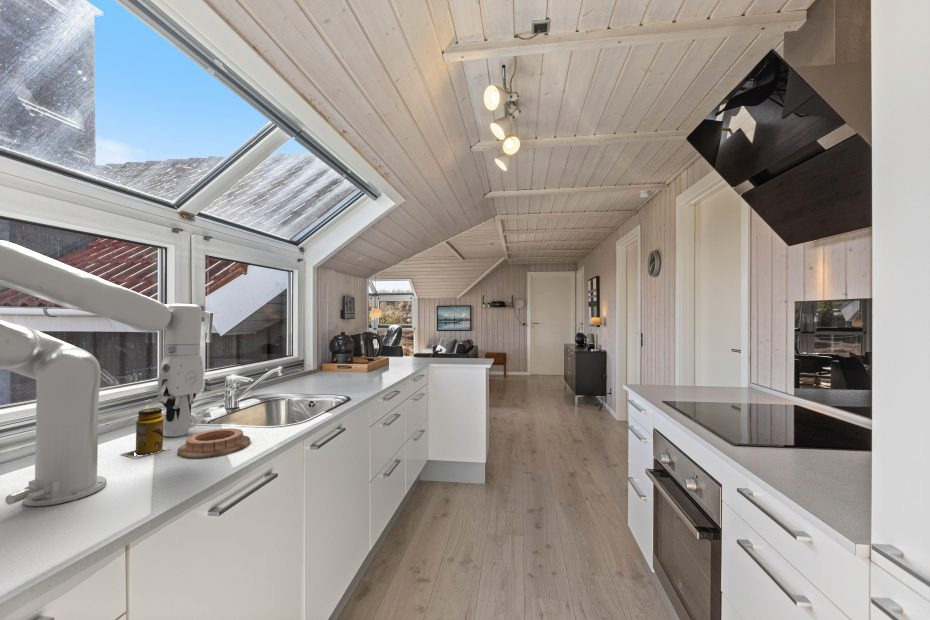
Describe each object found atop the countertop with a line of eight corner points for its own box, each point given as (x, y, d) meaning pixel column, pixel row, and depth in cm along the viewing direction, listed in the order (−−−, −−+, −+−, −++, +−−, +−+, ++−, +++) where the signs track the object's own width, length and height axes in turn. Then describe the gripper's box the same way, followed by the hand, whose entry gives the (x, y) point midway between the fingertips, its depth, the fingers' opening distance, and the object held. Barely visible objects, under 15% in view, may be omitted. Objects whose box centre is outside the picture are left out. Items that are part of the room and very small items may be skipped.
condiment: (169, 449, 111) (170, 408, 111) (135, 459, 103) (136, 415, 104) (155, 445, 114) (155, 405, 114) (120, 455, 106) (121, 412, 106)
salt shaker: (178, 438, 95) (182, 385, 96) (156, 437, 95) (160, 385, 96) (196, 431, 101) (199, 382, 102) (175, 430, 101) (178, 381, 102)
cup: (204, 430, 129) (204, 407, 129) (189, 438, 121) (189, 413, 121) (171, 431, 128) (171, 407, 129) (153, 438, 120) (154, 413, 121)
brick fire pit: (224, 459, 104) (224, 446, 104) (160, 457, 104) (160, 445, 104) (262, 438, 122) (262, 427, 122) (207, 437, 122) (208, 426, 122)
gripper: (170, 353, 91) (165, 431, 90) (217, 349, 107) (214, 415, 106) (140, 352, 91) (135, 430, 90) (192, 348, 108) (188, 414, 107)
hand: (178, 421), depth 98 cm, fingers closed on salt shaker, 3 cm apart
